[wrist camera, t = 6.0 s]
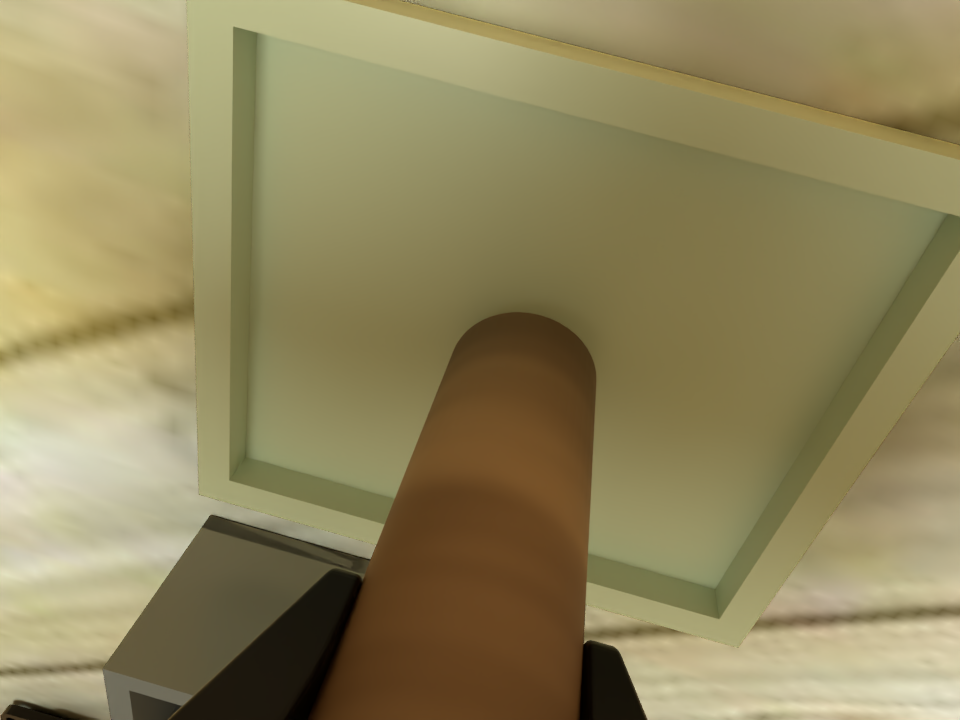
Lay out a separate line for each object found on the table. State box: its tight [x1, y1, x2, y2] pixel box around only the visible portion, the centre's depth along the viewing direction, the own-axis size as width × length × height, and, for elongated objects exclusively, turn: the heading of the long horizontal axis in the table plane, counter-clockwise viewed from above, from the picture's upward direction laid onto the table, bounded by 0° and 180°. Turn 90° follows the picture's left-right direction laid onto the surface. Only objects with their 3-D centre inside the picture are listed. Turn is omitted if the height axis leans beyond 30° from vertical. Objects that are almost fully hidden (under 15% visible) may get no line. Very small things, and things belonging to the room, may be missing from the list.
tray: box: [186, 0, 960, 648], centre depth 15 cm, size 12×14×2 cm
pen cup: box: [103, 515, 370, 720], centre depth 19 cm, size 5×5×5 cm
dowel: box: [307, 312, 596, 720], centre depth 10 cm, size 3×3×10 cm
